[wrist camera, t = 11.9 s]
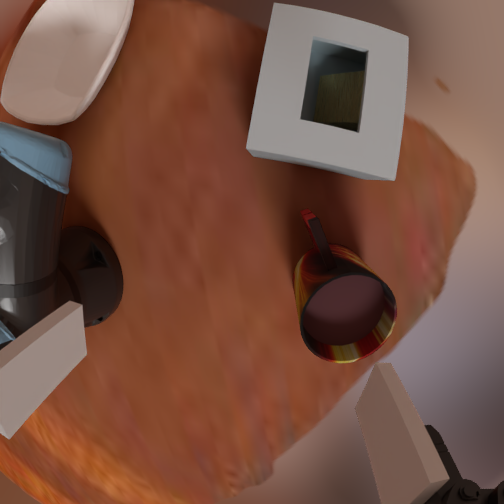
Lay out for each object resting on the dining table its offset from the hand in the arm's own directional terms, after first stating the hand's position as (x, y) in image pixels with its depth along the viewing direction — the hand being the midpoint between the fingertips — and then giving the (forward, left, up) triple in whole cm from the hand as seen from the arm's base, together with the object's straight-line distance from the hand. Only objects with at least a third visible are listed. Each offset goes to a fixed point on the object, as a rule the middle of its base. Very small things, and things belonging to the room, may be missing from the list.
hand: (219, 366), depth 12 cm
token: (+5, +18, -25) cm, 31 cm away
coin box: (+5, +18, -27) cm, 33 cm away
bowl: (-29, +22, -27) cm, 45 cm away
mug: (+9, -2, -27) cm, 28 cm away
